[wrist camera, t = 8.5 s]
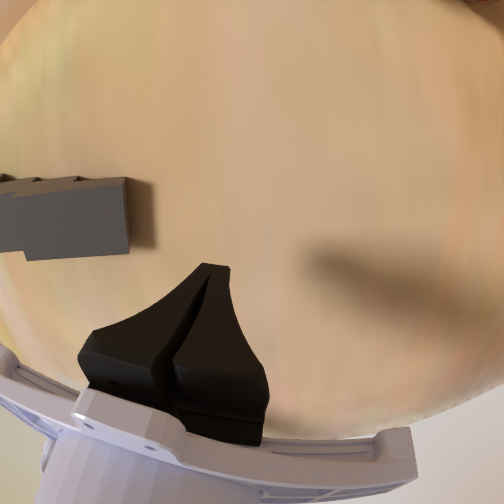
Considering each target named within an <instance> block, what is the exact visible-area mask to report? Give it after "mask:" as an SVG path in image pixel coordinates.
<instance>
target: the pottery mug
mask: <svg viewBox="0 0 504 504" xmlns="http://www.w3.org/2000/svg"><path fill="white" fill-rule="evenodd" d="M464 1H465V2H472V3H481V4H487V3H490V2H495V1H498V0H464Z"/></svg>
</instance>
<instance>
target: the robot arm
mask: <svg viewBox="0 0 504 504" xmlns="http://www.w3.org/2000/svg"><path fill="white" fill-rule="evenodd" d="M229 281H230V268H229V267H228V266H222V265H215V264H208V263H201V264H200V265H199V266H198V267H197V268H196V269H195V270H194V271H193V272H192V273H191V274H190V275H189V276H188V277H187V278H186V279H185V280H184V281H183V282H181V283H180V284H179V285H178V286H177V287H176V288H175V289H173V290H172V291H171V292H170V293H168V294H167V295H166V296H165V297H163V298H162V299H161V300H159V301H158V302H156V303H155V304H153V305H152V306H150V307H149V308H147V309H145V310H143V311H141V312H139V313H138V314H136V315H134V316H132V317H130V318H127V319H125V320H123V321H120V322H118V323H115V324H113V325H110V326H107V327H103V328H100V329H97V330H93V332H92V333H91V334H90V336H89V337H88V339H87V340H86V342H85V344H84V345H83V347H82V349H81V350H80V352H79V354H78V363H79V365H80V367H81V369H82V371H83V372H84V374H85V376H86V378H87V379H88V381H89V383H88V385H87V387H86V389H84V390H82V391H81V392H79V391H77V390H74V389H72V388H70V387H68V386H65V385H63V384H61V383H59V382H57V381H55V380H53V379H51V378H49V377H47V376H45V375H43V374H41V373H39V372H37V371H35V370H33V369H31V368H29V367H27V366H26V365H24V364H22V363H20V362H19V360H18V358H17V356H16V355H15V354H14V353H13V352H12V351H11V350H10V349H8V348H6V347H5V346H3V345H1V344H0V405H1V406H3V407H4V408H5V409H6V410H8V411H9V412H11V413H12V414H13V415H15V416H16V417H17V418H19V419H20V420H22V421H23V422H25V423H26V424H27V425H29V426H30V427H32V428H34V429H35V430H36V431H38V432H40V433H41V434H42V435H44V436H46V437H47V440H46V443H45V445H44V449H43V455H42V458H41V460H40V463H39V466H40V467H41V468H40V472H41V474H42V476H43V477H42V480H41V482H40V485H39V488H38V491H37V494H36V497H35V500H34V503H33V504H297V503H298V504H299V503H315V502H327V501H336V500H343V499H351V498H358V497H364V496H371V495H376V494H382V493H387V492H389V491H391V490H394V489H396V488H398V487H401V486H403V485H405V484H407V483H409V482H411V481H413V480H415V479H417V478H418V472H417V465H416V458H415V453H414V447H413V441H412V436H411V431H410V428H409V427H401V428H392V429H386V430H383V431H380V432H379V433H377V434H376V436H375V437H374V438H363V439H346V440H298V439H279V438H266V437H262V432H263V424H264V418H265V411H266V408H267V405H268V403H269V398H270V395H269V386H268V382H267V378H266V374H265V371H264V368H263V366H262V364H261V363H260V362H259V360H258V359H257V357H256V356H255V354H254V353H253V351H252V349H251V348H250V346H249V344H248V342H247V340H246V338H245V336H244V335H243V333H242V330H241V328H240V326H239V323H238V320H237V318H236V315H235V312H234V308H233V304H232V300H231V295H230V289H229Z"/></svg>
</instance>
